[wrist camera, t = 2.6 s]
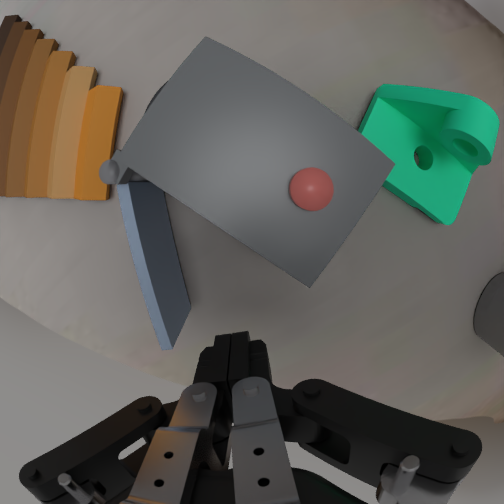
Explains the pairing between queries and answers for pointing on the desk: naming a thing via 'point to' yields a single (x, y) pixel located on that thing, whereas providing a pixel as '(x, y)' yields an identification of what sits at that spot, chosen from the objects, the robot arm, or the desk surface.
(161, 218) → the door
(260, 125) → the housing
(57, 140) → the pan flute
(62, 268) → the desk surface
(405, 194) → the camera mount
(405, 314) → the desk surface
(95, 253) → the desk surface
